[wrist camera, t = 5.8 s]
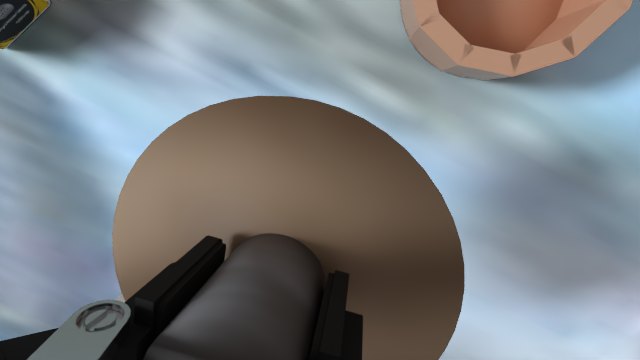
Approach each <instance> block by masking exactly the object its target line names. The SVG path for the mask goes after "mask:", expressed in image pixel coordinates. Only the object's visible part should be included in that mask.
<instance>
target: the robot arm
mask: <svg viewBox="0 0 640 360" xmlns="http://www.w3.org/2000/svg"><path fill="white" fill-rule="evenodd" d="M225 252H226V244H224V243H223V241H222V239H220V238H216V237H213V236H209V235H207V236H206V237H204V238H203V239H202V240H201V241H200V242H199V243H197V244H196V245H195V246H194V247H193V248H192V249H190V250H189V251H188V252H187V253H186V254H185V255H183V256H182V257H181V258H180V259H179V260H178V261H176V262H174V263H171V264H169V265H168V266H167V267H166V268H165V269H163V270H162V271H161V272H160V273H159V274H158V275H156V276H155V277H154V278H153V279H152V280H150V281H149V282H148V283H147V284H146V285H144V286H143V287H142V288H141V289H140V290H139V291H137V292H136V293H135V294H134V295H133V296H131V297H130V298H129V299H128V300H127V301H126V302H125V299H124V297H123V295H122V294H121V295H120V296H119V297H118V298H116V299H115V300H101V301H96V302H93V303H90V304H87V305H85V306H83V307H81V308H80V309H79V310H77V311H76V312H75V313H74V314H73V315H72V316H71V317H70V318H69V319H68V320H67V321H65V322H64V323H63V324H62V325H61V326H60V327H59V328H56V329H52V330H47V331H43V332H39V333H34V334H30V335H26V336H21V337H17V338H12V339H8V340H4V341H0V360H143V359H144V356H145V354H146V352H147V350H148V348H149V347H150V346H151V344H152V343H153V342H154V341H155V340H156V338H157V337H158V336H159V335H160V334H161V333H162V332H163V330H164V329H165V328H166V327H167V326H168V325H169V324H170V322H171V321H172V320H173V319H174V318H175V317H176V316H177V315H178V313H179V312H180V311H181V310H182V309H183V308H184V307H185V305H186V304H187V303H188V302H189V301H190V300H191V299H192V297H193V296H194V295H195V294H196V293H197V292H198V291H199V289H200V288H201V287H202V286H203V285H204V284H205V283H206V282H207V280H208V279H209V278H210V277H211V276H212V275H213V274H214V272H215V271H216V270H217V269H218V268H219V267H220V266H221V264H222V263H223V262H224V259H225ZM348 283H349V273H346V272H342V271H338V270H335V273H331V272H329V274H328V278H327V282H326V286H325V290H324V294H323V298H322V303H321V307H320V312H319V316H318V320H317V325H316V329H315V333H314V338H313V342H312V346H311V351H310V355H309V359H308V360H362V342H363V315H361V314H357V313H354V312H350V311H346V302H347V292H348Z"/></svg>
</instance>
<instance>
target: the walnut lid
mask: <svg viewBox="0 0 640 360" xmlns="http://www.w3.org/2000/svg"><path fill="white" fill-rule="evenodd" d="M207 235H209V236H213V237H216V238H220V239H222V241H223V243H224V244H226V252H225V259H224V262H223V263H222V264H221V266H220V267H219V268H218V269H217V270H216V271H215V272H214V274H213V275H212V276H211V277H210V278H209V279H208V280H207V282H206V283H205V284H204V285H203V286H202V287H201V288H200V289H199V291H198V292H197V293H196V294H195V295H194V296H193V297H192V299H191V300H190V301H189V302H188V303H187V304H186V305H185V307H184V308H183V309H182V310H181V311H180V312H179V313H178V315H177V316H176V317H175V318H174V319H173V320H172V321H171V322H170V324H169V325H168V326H167V327H166V328H165V329H164V330H163V332H162V333H161V334H160V335H159V336H158V337H157V338H156V340H155V341H154V342H153V343H152V344H151V346H150V347H149V348H148V350H147V352H146V354H145V356H144V359H143V360H308V359H309V355H310V351H311V346H312V342H313V338H314V333H315V329H316V325H317V320H318V316H319V312H320V307H321V303H322V298H323V294H324V290H325V286H326V282H327V278H328V274H329V272H331V273H335V270H338V271H342V272H346V273H349V283H348V292H347V302H346V311H350V312H354V313H357V314H361V315H363V342H362V360H438V359H439V358H440V356H441V355H442V353H443V352H444V351H445V349H446V347H447V345H448V343H449V341H450V339H451V337H452V335H453V333H454V331H455V328H456V324H457V321H458V318H459V315H460V312H461V307H462V300H463V294H464V261H463V255H462V248H461V242H460V239H459V236H458V232H457V229H456V226H455V223H454V220H453V217H452V215H451V213H450V211H449V209H448V207H447V205H446V203H445V201H444V199H443V197H442V195H441V193H440V192H439V190H438V189H437V187H436V186H435V185H434V183H433V182H432V180H431V179H430V177H429V176H428V174H427V173H426V172H425V170H424V169H423V168H422V167H421V165H420V164H419V163H418V162H417V161H416V160H415V159H414V158H413V157H412V156H411V154H410V153H409V152H408V151H407V150H406V149H405V148H404V147H403V146H401V145H400V144H399V143H398V142H397V141H395V140H394V139H393V138H392V137H391V136H389V135H388V134H387V133H386V132H384V131H383V130H381V129H379V128H378V127H376V126H375V125H373V124H371V123H370V122H368V121H367V120H365V119H363V118H361V117H359V116H357V115H355V114H352V113H350V112H348V111H346V110H344V109H341V108H339V107H335V106H332V105H329V104H325V103H322V102H319V101H315V100H309V99H303V98H296V97H286V96H255V97H247V98H238V99H232V100H228V101H225V102H221V103H217V104H214V105H210V106H208V107H205V108H203V109H201V110H198V111H196V112H194V113H192V114H189V115H187V116H186V117H184V118H183V119H181V120H179V121H178V122H176V123H175V124H173V125H172V126H170V127H168V128H167V129H166V130H165V131H164V132H163V133H162V134H160V135H159V136H158V137H157V138H156V139H155V140H154V141H152V142H151V144H150V145H149V146H148V147H147V148H146V150H145V151H144V152H143V153H142V154H141V156H140V157H139V158H138V159H137V161H136V163H135V164H134V166H133V168H132V169H131V171H130V173H129V174H128V176H127V178H126V181H125V183H124V186H123V188H122V190H121V193H120V195H119V199H118V203H117V207H116V211H115V216H114V225H113V257H114V263H115V269H116V275H117V278H118V282H119V285H120V289H121V292H122V295H123V297H124V299H125V302H126V301H127V300H128V299H129V298H130V297H131V296H133V295H134V294H135V293H136V292H137V291H139V290H140V289H141V288H142V287H143V286H144V285H146V284H147V283H148V282H149V281H150V280H152V279H153V278H154V277H155V276H156V275H158V274H159V273H160V272H161V271H162V270H163V269H165V268H166V267H167V266H168V265H169V264H171V263H174V262H176V261H178V260H179V259H180V258H181V257H182V256H183V255H185V254H186V253H187V252H188V251H189V250H190V249H192V248H193V247H194V246H195V245H196V244H197V243H199V242H200V241H201V240H202V239H203V238H204V237H206V236H207Z"/></svg>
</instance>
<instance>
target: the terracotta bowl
mask: <svg viewBox="0 0 640 360" xmlns="http://www.w3.org/2000/svg"><path fill="white" fill-rule="evenodd" d="M632 2H633V0H400V6H401V15H402V20H403V24H404V27H405V30H406V33H407V35H408V37H409V41H410V42H411V43H412V44H413V46H414V47H415V49H416V50H417V51H418V52H419V54H420V55H421V56H422V57H423V58H424V59H425V60H426V61H428V62H429V63H430V64H431V65H433V66H435V67H436V68H438V69H439V70H440V71H442V72H446V73H448V74H452V75H455V76H459V77H466V78H476V79H480V80H491V79H498V78H506V77H514V76H517V75H520V74H524V73H527V72H530V71H533V70H537V69H540V68H543V67H546V66H550V65H553V64H556V63H559V62H562V61H566V60H569V59H572V58H575V57H576V56H577V55H579V54H580V53H581V52H582V51H583V50H584V49H585V48H586V47H588V46H589V45H590V44H591V43H592V42H593V41H594V40H595V39H596V38H598V37H599V36H600V35H601V34H602V33H603V32H604V31H605V30H606V29H608V28H609V27H610V26H611V25H612V24H613V23H614V22H615V21H617V20H618V19H619V18H620V17H621V16H622V15H623V14H624V13H625V12H627V11H628V10H629V8H630V6H631V4H632Z"/></svg>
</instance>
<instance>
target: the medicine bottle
mask: <svg viewBox="0 0 640 360" xmlns="http://www.w3.org/2000/svg"><path fill="white" fill-rule="evenodd" d="M49 6H50V0H0V49H6V48H7V47H8V46H9V45H10V44H11V43H12V42H13V41H14V40H15V39H16V38H17V37H18V36H19V35H20V34H21V33H22V32H23V31H24V30H25V29H27V28H28V27H29V26H30V25H31V24H32V23H33V22H34V21H35V20H36V19H37V18H38V17H39V16H40V15H41V14H42V13H43V12H44V11H45V10H46V9H47V8H48V7H49Z"/></svg>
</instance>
